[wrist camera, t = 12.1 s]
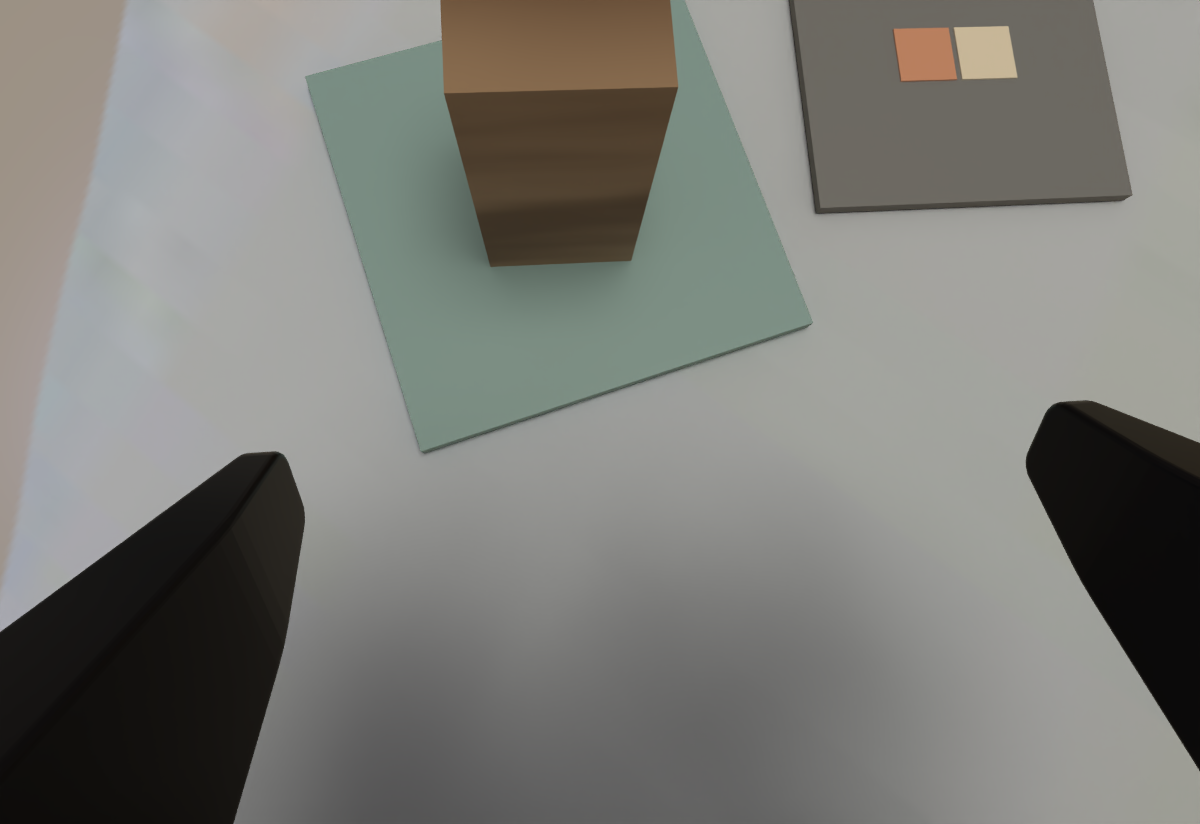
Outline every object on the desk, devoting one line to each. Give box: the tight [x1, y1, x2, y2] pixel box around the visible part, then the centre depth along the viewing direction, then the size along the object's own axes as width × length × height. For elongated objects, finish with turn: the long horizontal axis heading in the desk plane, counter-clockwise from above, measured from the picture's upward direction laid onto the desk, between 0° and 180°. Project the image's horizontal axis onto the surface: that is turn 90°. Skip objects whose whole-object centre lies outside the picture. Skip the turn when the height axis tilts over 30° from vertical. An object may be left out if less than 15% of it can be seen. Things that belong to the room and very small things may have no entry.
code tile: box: [789, 0, 1132, 213], centre depth 25 cm, size 11×11×1 cm
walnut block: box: [441, 0, 678, 267], centre depth 18 cm, size 4×4×9 cm
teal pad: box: [305, 0, 813, 453], centre depth 23 cm, size 13×13×1 cm
